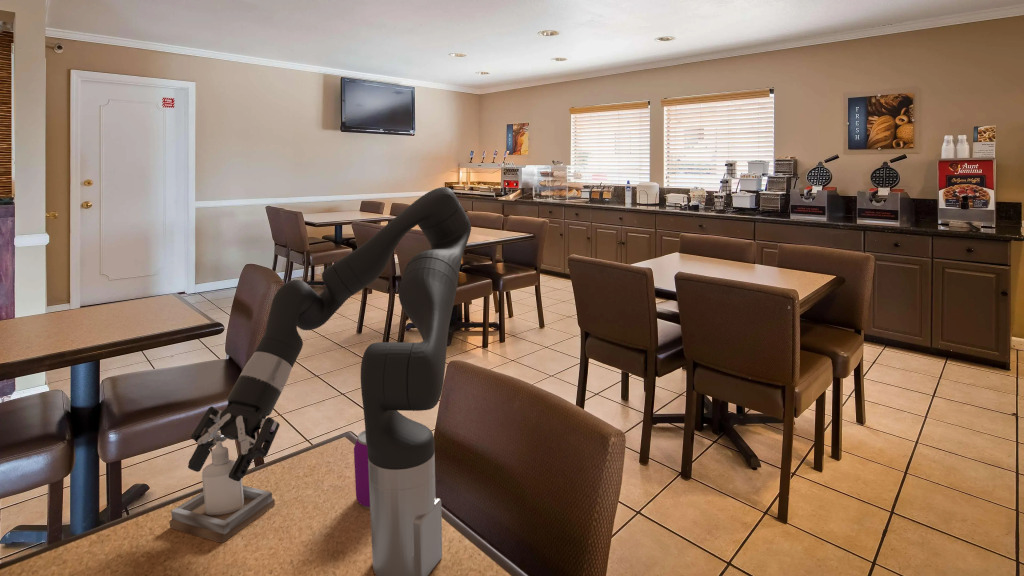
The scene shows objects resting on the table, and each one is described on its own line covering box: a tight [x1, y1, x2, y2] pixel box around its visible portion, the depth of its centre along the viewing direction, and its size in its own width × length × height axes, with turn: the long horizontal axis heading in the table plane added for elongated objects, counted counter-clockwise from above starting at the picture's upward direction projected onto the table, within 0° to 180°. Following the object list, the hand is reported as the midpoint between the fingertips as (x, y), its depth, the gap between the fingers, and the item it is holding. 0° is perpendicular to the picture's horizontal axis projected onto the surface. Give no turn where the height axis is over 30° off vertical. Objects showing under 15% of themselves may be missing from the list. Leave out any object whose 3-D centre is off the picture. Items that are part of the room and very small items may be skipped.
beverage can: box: [353, 430, 370, 509], centre depth 98 cm, size 8×8×12 cm
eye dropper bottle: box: [201, 441, 244, 516], centre depth 92 cm, size 4×6×12 cm
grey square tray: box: [168, 484, 276, 544], centre depth 93 cm, size 11×11×3 cm
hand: (212, 474), depth 91 cm, fingers open, 8 cm apart
